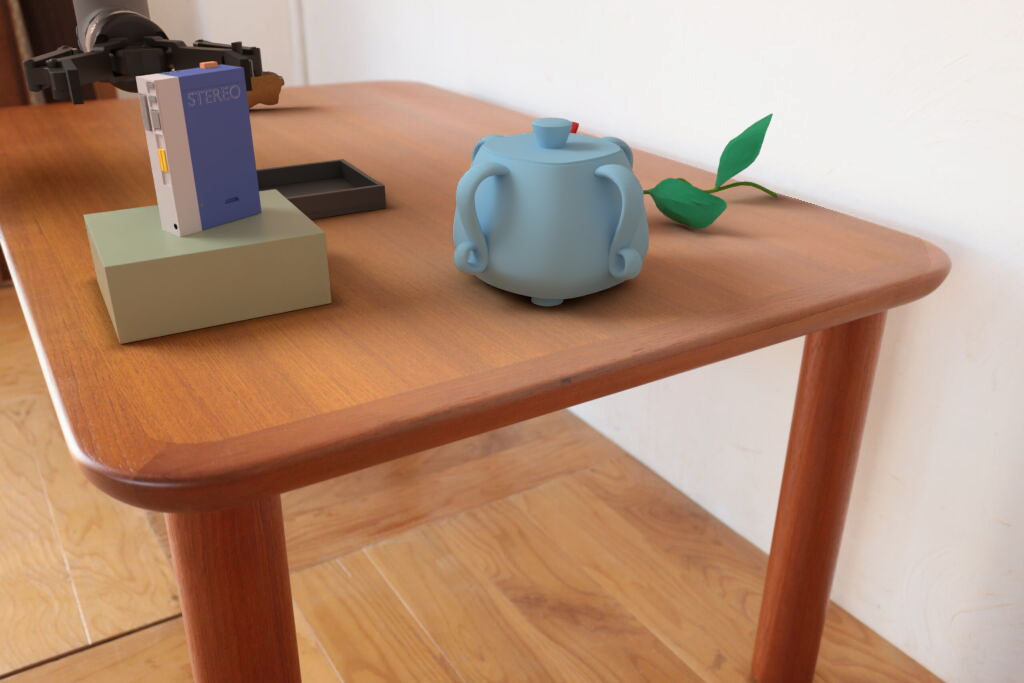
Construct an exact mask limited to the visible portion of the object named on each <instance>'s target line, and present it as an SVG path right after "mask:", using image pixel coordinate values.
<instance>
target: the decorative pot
mask: <svg viewBox="0 0 1024 683" xmlns="http://www.w3.org/2000/svg"><path fill="white" fill-rule="evenodd" d="M572 122H573V121H571V120H569V119H566V118H562V117H542V118H537V119H535V120H533V121H531V122H530V123H531V128H532V131H530V132H523V133H522V132H521V133H517V134H511V135H502V134H489V135H486V136H484V137H482V138H480V139H479V140H478V141H477V142H476V143H475V144H474V146H473V149H472V152H471V153H472V154H471V165H470V168H469V169H468V170H467V171H465V173H464V174H462V176H461V177H460V180H459V181H458V183H457V186H456V191H455V203H456V206H455V212H454V218H453V227H452V243H453V247H454V250H455V251H454V254H453V262H454V266H455V267H456V269H457V270H458V271H459V272H460V273H462V274H465V275H470V276H475V277H477V278H478V279H479V280H481V281H482V282H484V283H486V284H488V285H490V286H492V287H494V288H497V289H500V290H503V291H506V292H510V293H513V294H517V295H522V296H524V297H531V298H530V301H531V303H533V304H535V305H537V306H540V307H554V306H558V305H559V306H560V305H561V304H562V303H563V302H564V300H567V299H574V298H579V297H580V298H581V297H584V296H587V295H591V294H595V293H598V292H601V291H604V290H607V289H610V288H612V287H615V286H617V285H620V284H622V283H624V282H625V281H628V280H629V281H630V280H633V279H635V278H636V277H638V276H639V274H641V272H642V269H643V262H644V261H645V259H646V257H647V254H648V252H649V249H650V231H649V222H648V215H647V214H648V213H647V210H646V205H645V194H643V190H644V189H643V186H642V184H641V182H640V180H639V178H638V177H637V176H636V175H635V173H634V170H633V168H634V154H633V151H632V149H631V147H630V145H629V144H628V143H627V142H625V141H624V140H622V139H620V138H618V137H614V136H602V137H600V138H598V137H594V136H590V135H585V134H581V133H576V134H574V133H570V131H571V128H572V124H573V123H572Z"/></svg>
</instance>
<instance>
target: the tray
mask: <svg viewBox="0 0 1024 683" xmlns="http://www.w3.org/2000/svg"><path fill="white" fill-rule="evenodd" d="M256 171H257V179H258V187H259V191H266V190H274V189H276V190H277V191H278V192H279V193H281V194H282V195H283V196H284V197H285V198H286V199H287V200H289V201H290V202H291V203H292V204H293V205H294V206H295V207H297V208H298V209H299V210H300V211H301V212H302V213H303V214H305V215H306V216H307V217H308V218H309V219H310V220H316V219H324V218H330V217H335V216H341V215H348V214H356V213H362V212H368V211H376V210H381V209H383V210H384V209H387V197H386V185H385V184H383V183H382V182H380V181H378V180H377V179H376V178H374V177H372V176H371V175H369V174H367V173H366V172H365V171H363V170H361V169H360V168H359V167H357V166H355V165H354V164H352V163H350V162H348V161H347V160H345V158H340V159H331V160H323V161H315V162H308V163H306V162H305V163H299V164H298V163H297V164H292V165H283V166H275V167H266V168H265V167H264V168H258V169H257V168H256Z"/></svg>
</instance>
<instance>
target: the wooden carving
mask: <svg viewBox="0 0 1024 683" xmlns="http://www.w3.org/2000/svg"><path fill="white" fill-rule="evenodd" d="M251 84H252V91H247V99H248V107H249V110H250V109H251V108H253V107H255V106H257V105H259V104H261V105H265V106H275V105H277V104H279V99H280V94H281V91H282V88H283V86H285V79H284V78H283V76H282V75H278V73H276V72H274V71H268V70H267V71H264V70H263V75H262V76H259V77H251Z"/></svg>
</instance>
